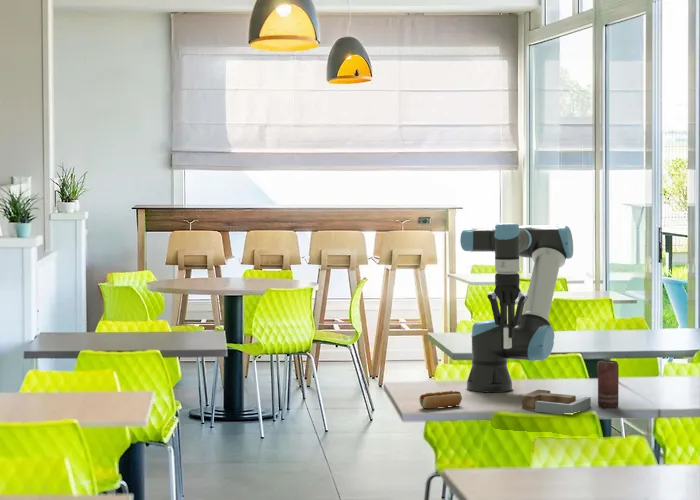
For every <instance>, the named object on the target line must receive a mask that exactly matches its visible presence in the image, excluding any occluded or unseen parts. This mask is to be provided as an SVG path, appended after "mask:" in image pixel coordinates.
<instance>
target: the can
mask: <svg viewBox="0 0 700 500" xmlns="http://www.w3.org/2000/svg"><path fill="white" fill-rule="evenodd" d="M619 369H620V368H619V363H618V361H616V360H609V359H608V360H599V361H597V364H596V372H597V406H598V408H600V407H601V409H606V408H614V409H617V408H618V407H619V381H620V380H619V371H620V370H619ZM616 407H617V408H616Z"/></svg>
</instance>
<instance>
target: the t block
mask: <svg viewBox="0 0 700 500" xmlns="http://www.w3.org/2000/svg"><path fill="white" fill-rule="evenodd" d="M576 399H577V397H576V395H572V394H563V393H552V392H551V390H546V389H545V390H544V389H536V390H534V391H530V392H528V393H524V394H522V395H521V409H524V410H531V411H532V410H534V411H535V401H544V402H554V403H564V404H570V403H573V402H575V401H577V400H576Z"/></svg>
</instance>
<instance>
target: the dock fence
mask: <svg viewBox="0 0 700 500" xmlns="http://www.w3.org/2000/svg"><path fill="white" fill-rule="evenodd" d="M591 400H592V397H591V396H586V397H583V398H580V399H577V400H576V401H575V402H573V403H570V404H564V403H554V402H544V401H535V410H534V411H535V412H536V413H546V414H554V415H555V414H556V415H562V414H564V413H574V412H578V411H581V412H583V411H585V410H587V409H590V408H591V407H592V406H591V405H592V402H591ZM589 407H590V408H589ZM582 410H583V411H582Z"/></svg>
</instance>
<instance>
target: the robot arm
mask: <svg viewBox="0 0 700 500" xmlns="http://www.w3.org/2000/svg"><path fill="white" fill-rule="evenodd" d="M459 239H460V240H459V241H460V247H461V249H462V250H463V251H464V252H471V253H473V252H493V253H494V272H496V273H495V275H494V284H495V288H494V290H493V292H492V293H490V294H489V293H488V295H487V299H488V301H489V303H490V306H491V311H492V315H493V319H486V320H482V321H481V320H480V321H477V322H474V323H473V324H472V327H471V328H472V329H471V368H470V370H469V375H468V378H467V380H466V389H467V390H468V391H469V390H470V391H474V392H477V393H478V392H479V393H500V392H501V393H502V392H508V391H511V390H513V381H512V378H511V375H510V372H509V368H508V359H509V360H522V361H524V360H525V361H533V362H535V361H545V360H547V359H548V358H549V357H550V355H551V353H552V351H553V348H554V343H555V340H554V339H555V331H554V330H555V329H554V328H553V327H552V325H551V322H550V321H549V315H550V311H551V306H552V301H553V296H554V292H555V288H556V283H557V279H558V274H559V270H560V268H562V267H563V266H564V265H565V263H566V261H567V260H566V259H572V258H573V255H574V239H573V234H572V231H571V229H570V227H569V226H568V225H565V224H564V225H563V224H562V225H561V224H555V225H554V224H553V225H551V224H550V225H549V224H544V225H543V224H526V225H525V224H524V225H519V224H518V223H515V222H514V223H513V222H511V223H510V222H507V223H506V222H504V223H501V222H500V223H497V224H495V227H494V228H488V227H487V228H481V227H477V228H473V227H471V228H464V229H463V230H462V231H461V233H460V238H459ZM520 258H531V259H532V261H533V262H534V264H533V268H532V273H531V277H530V281H529V285H528V289H527V293H526V295H524V294H523V293H522V292H521V291H522V290H521V288H520V273H519V272H520ZM517 299H518V301H517ZM498 300H499V303H498ZM516 301H517V305H516ZM515 306H516V309H515Z"/></svg>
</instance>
